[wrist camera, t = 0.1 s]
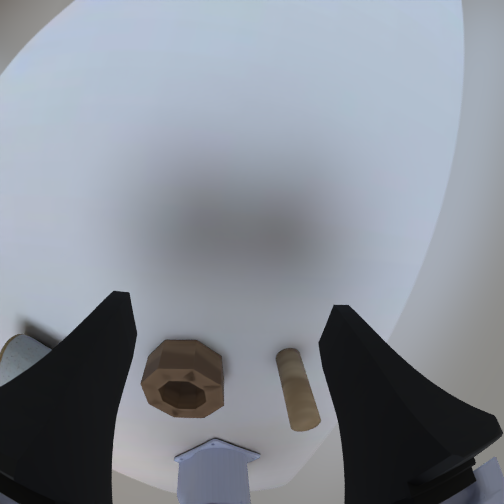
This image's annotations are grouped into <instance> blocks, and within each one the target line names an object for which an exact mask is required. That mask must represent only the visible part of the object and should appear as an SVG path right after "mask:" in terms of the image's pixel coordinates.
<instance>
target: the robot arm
mask: <svg viewBox="0 0 504 504" xmlns="http://www.w3.org/2000/svg"><path fill="white" fill-rule="evenodd" d="M136 337H137V330H136V325H135V320H134V315H133V310H132V304H131V299H130V293H129V292H120V291H113V292H112V293H111V294H110V295H109V296H108V297H107V298H106V299H104V300H103V301H102V302H101V303H100V304H99V305H98V306H97V307H96V308H95V310H94V311H93V312H92V313H91V314H90V315H89V316H88V317H87V318H86V319H84V320H83V321H82V322H81V323H80V324H79V325H78V326H77V327H76V328H75V329H74V330H73V331H72V332H71V333H70V334H69V335H68V336H67V337H66V338H65V339H64V340H63V341H61V342H60V343H59V344H58V345H57V346H56V347H55V348H54V349H53V350H51V351H50V352H49V353H48V354H47V355H45V356H44V357H43V358H42V359H40V360H39V361H38V362H37V363H35V364H34V365H33V366H31V367H30V368H28V369H27V370H25V371H24V372H22V373H21V374H19V375H18V376H17V377H15V378H14V379H12V380H11V381H9V382H7V383H6V384H4V385H2V386H0V504H113V503H112V482H111V480H112V451H113V439H114V430H115V423H116V416H117V412H118V407H119V403H120V400H121V396H122V393H123V389H124V386H125V382H126V379H127V376H128V372H129V369H130V365H131V362H132V359H133V354H134V349H135V343H136ZM319 349H320V356H321V362H322V367H323V371H324V374H325V378H326V381H327V384H328V388H329V391H330V394H331V398H332V401H333V405H334V408H335V412H336V415H337V419H338V423H339V429H340V436H341V442H342V451H343V461H344V477H345V504H504V477H503V474H502V472H501V469H500V466H499V463H498V461H497V458H496V457H493V458H492V459H491V460H489V461H488V462H486V463H484V464H483V465H481V466H480V467H479V468H477V469H476V470H474V471H473V470H472V466H473V465H475V463H476V462H475V459H474V457H475V456H476V455H477V454H479V453H480V452H482V451H483V450H484V449H486V448H487V447H488V446H490V445H491V444H493V443H494V442H495V441H496V440H498V439H499V438H500V437H501V436H502V434H503V432H502V430H501V428H500V425H499V423H498V421H497V419H496V417H495V416H494V415H492V414H489V413H487V412H485V411H482V410H480V409H477V408H475V407H473V406H471V405H469V404H467V403H465V402H463V401H461V400H459V399H457V398H456V397H454V396H452V395H451V394H449V393H447V392H446V391H444V390H443V389H441V388H440V387H438V386H437V385H435V384H434V383H432V382H431V381H430V380H428V379H427V378H426V377H424V376H423V375H422V374H421V373H419V372H418V371H416V370H415V369H414V368H413V367H412V366H411V365H409V364H408V363H407V362H406V361H405V360H404V359H403V358H402V357H401V356H399V355H398V354H397V353H396V352H395V351H394V350H393V349H392V348H391V347H390V346H389V345H388V344H387V343H386V342H385V341H384V340H383V339H382V338H381V337H380V336H379V335H378V334H377V333H376V332H375V331H374V330H373V329H372V328H371V327H370V326H369V325H368V324H367V323H366V322H365V321H364V320H363V319H362V318H361V317H360V316H359V315H358V314H357V313H356V312H355V311H354V310H353V309H352V308H351V307H350V306H349V305H333V308H332V311H331V313H330V316H329V318H328V321H327V323H326V326H325V328H324V331H323V333H322V336H321V338H320V340H319ZM258 458H260V454H257V453H254V452H251V451H248V450H245V449H242V448H240V447H237V446H234V445H231V444H229V443H226V442H224V441H221V440H219V439H213V440H211V441H209V442H207V443H205V444H203V445H201V446H199V447H197V448H195V449H192V450H190V451H188V452H186V453H184V454H182V455H179V456H177V457H175V458H174V461H176V462H178V463H179V472H178V487H177V497H178V501H179V503H180V504H251V502H250V501H251V500H250V490H249V480H248V469H247V463H249V462H251V461H254V460H256V459H258Z"/></svg>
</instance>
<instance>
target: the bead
mask: <svg viewBox="0 0 504 504" xmlns="http://www.w3.org/2000/svg"><path fill="white" fill-rule="evenodd" d="M141 386H142V389H143V391H144V394H145V396H146V398H147V401H148V403H149V404H150V405H152V406H154V407H156V408H157V409H159V410H161V411H163V412H165V413H167V414H169V415H171V416H173V417H181V418H205V417H206V416H208V415H210V414H211V413H213V412H215V411H216V410H218V409H219V408H221V407H222V406H224V377H223V367H222V358H221V356H220V355H219V354H217V353H215V352H214V351H212V350H211V349H209V348H208V347H206V346H205V345H203V344H202V343H200V342H199V341H197V340H165V341H164V342H163V343H162V344H160V345H159V346H158V347H157V348H156V349H155V350H154V351H153V352H152V353H151V354H150V355H149V356H148V360H147V363H146V366H145V370H144V373H143V377H142V380H141Z"/></svg>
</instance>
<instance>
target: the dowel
mask: <svg viewBox="0 0 504 504" xmlns="http://www.w3.org/2000/svg"><path fill="white" fill-rule="evenodd" d="M276 362H277V367H278V371H279V376H280V380H281V385H282V389H283V394H284V399H285V403H286V408H287V412H288V417H289V421H290V426H291V429H292V430H294V431H307V430H310V429H313V428H315V427H316V426H317V425H319V423H320V422H321V419H320V416H319V412H318V409H317V406H316V403H315V400H314V397H313V393H312V390H311V387H310V384H309V381H308V378H307V375H306V372H305V368H304V365H303V362H302V359H301V356H300V353H299V351H298V350H296V349H293V348H288V349H284V350H282V351H280V352H279V353H278V354H277V356H276Z"/></svg>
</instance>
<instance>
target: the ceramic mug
mask: <svg viewBox="0 0 504 504" xmlns="http://www.w3.org/2000/svg"><path fill="white" fill-rule="evenodd" d="M51 350H52V349H50V348H48V347H47V346H45V345H43V344H42V343H40V342H39V341H37V340H35V339H33V338H32V337H29V336H27V335H24V334H17V335H15V336H13V337H11V338H10V339H9V340H8V341H7V342H6V343H5V345H4V346H3V348H2V350H1V352H0V386H2V385H4V384H6V383H7V382H9V381H11V380H12V379H14V378H15V377H17V376H18V375H19V374H21V373H22V372H24V371H25V370H27V369H28V368H30V367H31V366H33V365H34V364H35V363H37V362H38V361H39V360H40V359H42V358H43V357H44V356H45V355H47V354H48V353H49V352H50V351H51Z"/></svg>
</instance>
